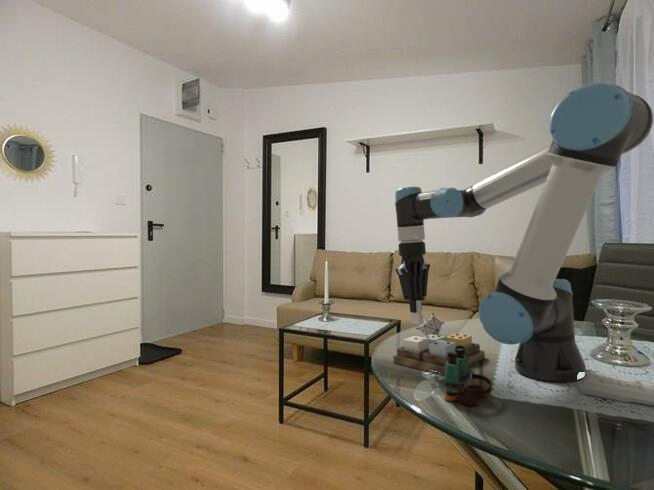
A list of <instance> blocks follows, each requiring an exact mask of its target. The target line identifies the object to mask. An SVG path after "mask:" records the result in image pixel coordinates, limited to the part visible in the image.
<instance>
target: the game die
mask: <svg viewBox="0 0 654 490" xmlns="http://www.w3.org/2000/svg"><path fill="white" fill-rule="evenodd" d="M422 322H423V323H422V324H418V327H416V330H419V331H421V333H422V334H424V335H425V336H427V335H430V334H433V335H440V332H441V328H442V326H443V324H445V322H444V321H443V322H441V321H440V319H438V318H437V317H436V316H435V315H434V313H432V314H431V315H422Z"/></svg>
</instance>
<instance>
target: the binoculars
mask: <svg viewBox="0 0 654 490" xmlns="http://www.w3.org/2000/svg"><path fill="white" fill-rule="evenodd" d="M455 351H456V354H454V353H449V352H447V357H448V361H447V362H446V366H445V370H446V371H445V375H444V376H445V377H444V380H443V382H444V383H443V384H444V390H445V392H444V400H445V401H449V402H450V401H451V402H452V401H457V400H459V401H460V402H461V403H462V404H464V405H467V406H471V407H477V406H478V404H479V400H481V399H484V398H485V396H486V395H488V394H490V393H491V391H492V387H493V386H492V381H491V380H490V379H489V378H488V377H487V376H484V375H481V374H479V373H477V374H476V373H474V371H473V370H471V371H469V367H468V358H467V356H465V355H464V352H465V347H464V346H461V345H458V346H456V347H455ZM470 377H471V378H470ZM474 379H475V380H481V381H483V382H485V383H487V384H488V385H489V387H488V388H486V389H485V388H483V387H482V386H480V385H475V384H472V385H468V386H465V384H466V383H468V382H469V380H471V381H474ZM459 394H460V395H459Z"/></svg>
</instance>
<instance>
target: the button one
mask: <svg viewBox="0 0 654 490" xmlns="http://www.w3.org/2000/svg"><path fill="white" fill-rule="evenodd" d="M424 337H425V336H417V335H413V336H409V337H407V338H404V339H402V340H403V342H402V343H403V346H404V350H409V351H414V352H422V351H424V350H426V349H429V339H428V338H424Z"/></svg>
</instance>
